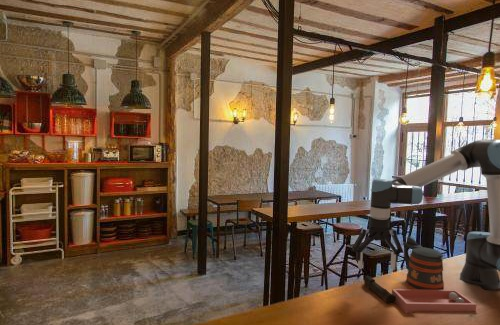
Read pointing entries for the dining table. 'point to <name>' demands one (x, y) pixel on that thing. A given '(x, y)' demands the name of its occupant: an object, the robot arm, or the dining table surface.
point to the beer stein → (423, 267)
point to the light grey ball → (453, 296)
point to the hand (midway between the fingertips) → (376, 268)
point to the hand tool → (379, 290)
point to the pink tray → (430, 300)
